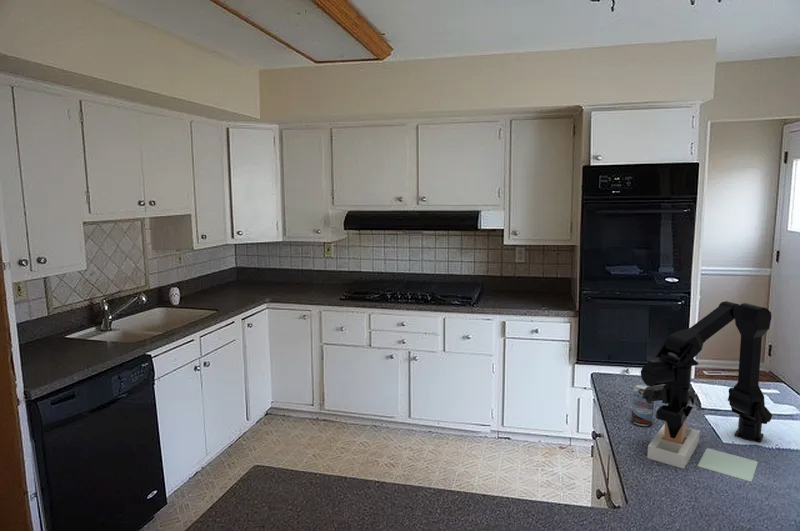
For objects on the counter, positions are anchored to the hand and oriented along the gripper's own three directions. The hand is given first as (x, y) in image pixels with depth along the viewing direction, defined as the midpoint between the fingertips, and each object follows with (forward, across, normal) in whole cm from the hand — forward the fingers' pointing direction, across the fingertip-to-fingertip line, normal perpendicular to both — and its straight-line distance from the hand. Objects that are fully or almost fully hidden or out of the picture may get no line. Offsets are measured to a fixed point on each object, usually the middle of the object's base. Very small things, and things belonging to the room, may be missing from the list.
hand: (674, 434), depth 149 cm
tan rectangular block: (+4, 0, 0) cm, 4 cm away
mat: (+5, 0, +13) cm, 14 cm away
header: (+5, 0, 0) cm, 5 cm away
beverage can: (+5, -12, -12) cm, 18 cm away
